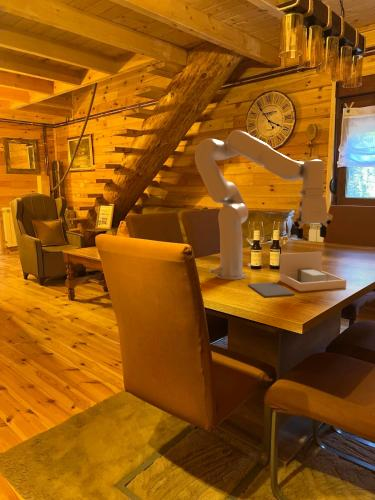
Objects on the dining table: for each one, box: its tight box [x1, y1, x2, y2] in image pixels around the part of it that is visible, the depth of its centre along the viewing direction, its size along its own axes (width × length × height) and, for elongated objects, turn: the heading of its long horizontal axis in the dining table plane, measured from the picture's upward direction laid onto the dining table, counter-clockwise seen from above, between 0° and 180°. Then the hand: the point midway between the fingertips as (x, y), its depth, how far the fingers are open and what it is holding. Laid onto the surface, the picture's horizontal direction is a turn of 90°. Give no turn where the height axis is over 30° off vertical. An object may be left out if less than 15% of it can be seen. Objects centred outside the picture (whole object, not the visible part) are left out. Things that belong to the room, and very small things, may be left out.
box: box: [296, 268, 327, 283], centre depth 146 cm, size 6×12×5 cm, turn 11°
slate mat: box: [247, 281, 295, 298], centre depth 139 cm, size 11×17×1 cm, turn 11°
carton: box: [279, 251, 347, 292], centre depth 146 cm, size 19×18×11 cm
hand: (311, 237), depth 145 cm, fingers open, 9 cm apart
